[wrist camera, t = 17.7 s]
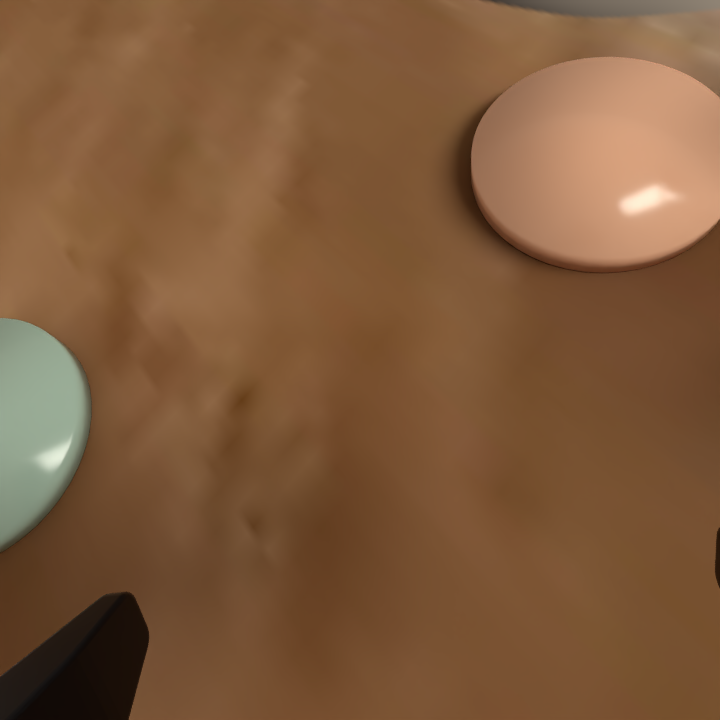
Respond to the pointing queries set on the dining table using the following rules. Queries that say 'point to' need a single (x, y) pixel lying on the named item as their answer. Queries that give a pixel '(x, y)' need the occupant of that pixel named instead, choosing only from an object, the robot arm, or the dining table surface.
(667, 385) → the dining table surface
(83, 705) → the robot arm
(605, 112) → the terracotta dish
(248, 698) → the dining table surface
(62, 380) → the green dish
